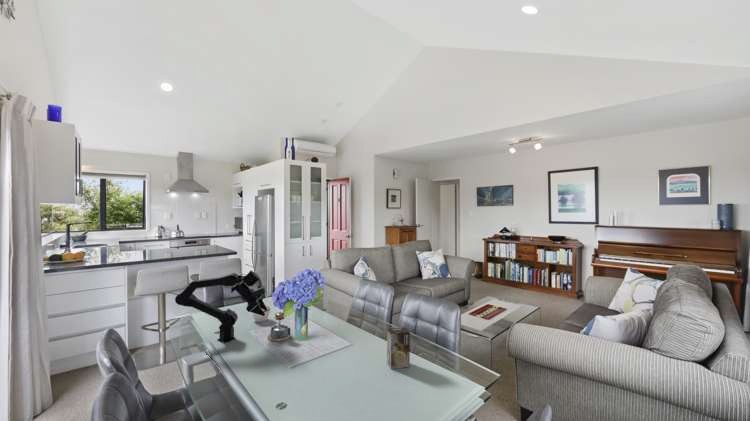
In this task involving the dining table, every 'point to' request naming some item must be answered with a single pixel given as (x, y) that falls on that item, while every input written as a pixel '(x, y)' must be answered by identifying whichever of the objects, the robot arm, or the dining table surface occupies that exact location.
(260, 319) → the lidded jar
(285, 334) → the press body
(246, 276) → the robot arm
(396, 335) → the coffee box
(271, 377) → the dining table surface
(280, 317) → the plunger
